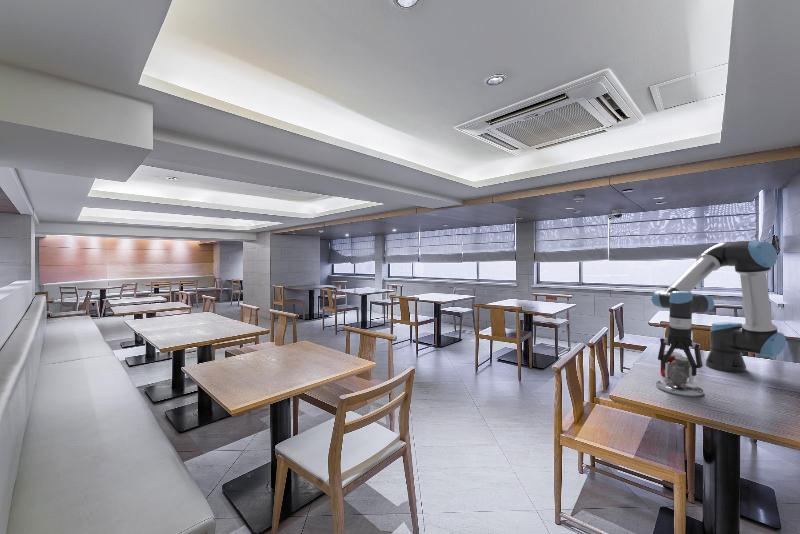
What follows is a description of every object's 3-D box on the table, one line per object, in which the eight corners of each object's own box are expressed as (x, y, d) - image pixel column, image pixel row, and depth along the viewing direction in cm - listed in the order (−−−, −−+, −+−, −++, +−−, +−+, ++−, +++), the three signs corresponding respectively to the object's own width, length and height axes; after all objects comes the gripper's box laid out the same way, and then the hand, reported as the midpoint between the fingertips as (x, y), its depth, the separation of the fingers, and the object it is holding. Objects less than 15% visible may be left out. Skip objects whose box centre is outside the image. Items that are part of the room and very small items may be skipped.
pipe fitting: (669, 373, 158) (672, 352, 156) (692, 379, 152) (695, 357, 150) (664, 383, 150) (666, 360, 148) (688, 389, 144) (691, 366, 142)
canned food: (685, 379, 162) (685, 356, 162) (665, 378, 164) (666, 355, 164) (675, 373, 170) (676, 351, 169) (657, 372, 171) (657, 350, 171)
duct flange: (663, 380, 162) (663, 376, 162) (708, 390, 149) (708, 387, 149) (649, 388, 152) (649, 384, 152) (696, 400, 139) (696, 396, 139)
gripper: (648, 324, 156) (647, 375, 157) (708, 332, 139) (707, 389, 140) (655, 322, 160) (654, 371, 161) (714, 330, 143) (712, 385, 144)
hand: (678, 379), depth 150 cm, fingers closed on pipe fitting, 8 cm apart
